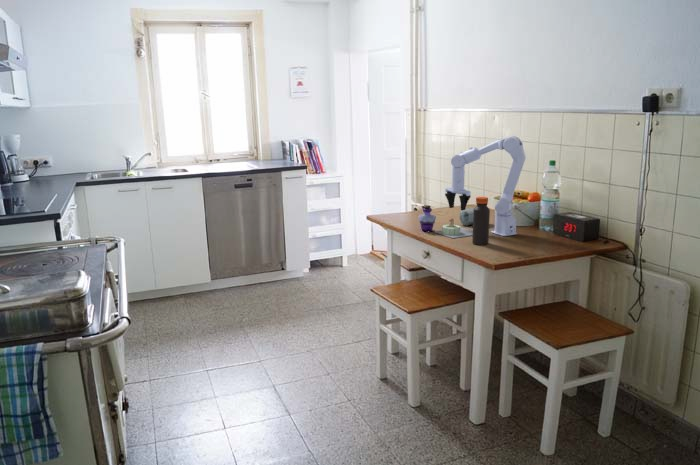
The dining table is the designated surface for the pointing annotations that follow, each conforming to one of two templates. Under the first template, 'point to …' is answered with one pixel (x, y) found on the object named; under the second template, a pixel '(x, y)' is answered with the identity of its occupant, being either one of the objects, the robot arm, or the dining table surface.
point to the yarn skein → (466, 216)
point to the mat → (463, 233)
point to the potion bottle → (427, 219)
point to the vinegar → (481, 222)
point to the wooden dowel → (451, 223)
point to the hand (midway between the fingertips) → (457, 208)
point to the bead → (451, 230)
